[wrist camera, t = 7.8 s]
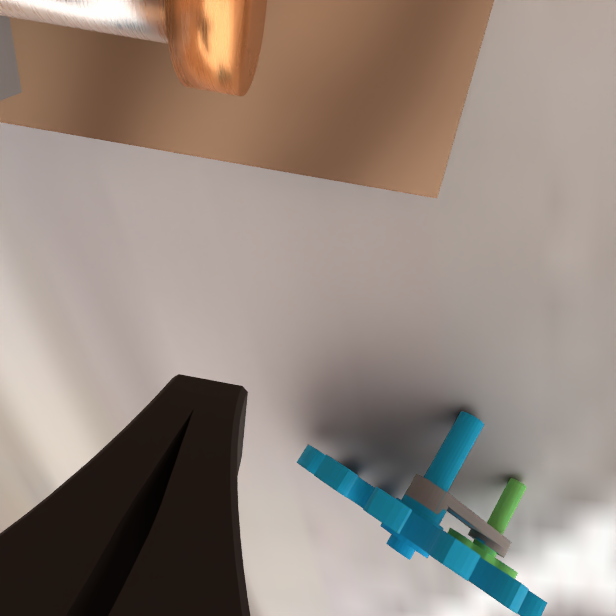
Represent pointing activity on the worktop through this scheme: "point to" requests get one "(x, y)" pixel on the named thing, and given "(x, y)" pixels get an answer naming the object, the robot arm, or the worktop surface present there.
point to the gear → (441, 517)
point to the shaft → (171, 32)
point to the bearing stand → (269, 90)
